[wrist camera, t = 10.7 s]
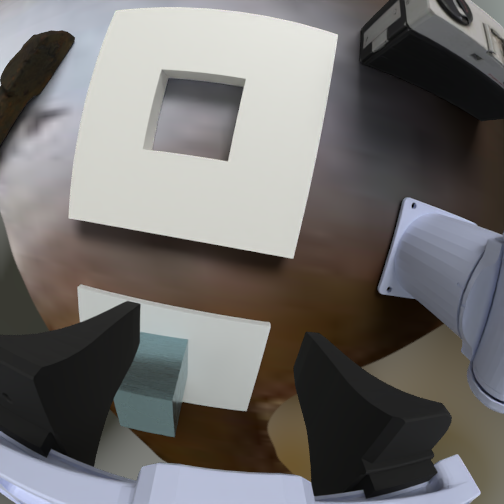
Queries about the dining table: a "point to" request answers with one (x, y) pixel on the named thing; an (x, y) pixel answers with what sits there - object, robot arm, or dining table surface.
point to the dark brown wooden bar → (30, 73)
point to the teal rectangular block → (154, 385)
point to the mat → (198, 346)
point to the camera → (441, 51)
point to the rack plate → (199, 168)
